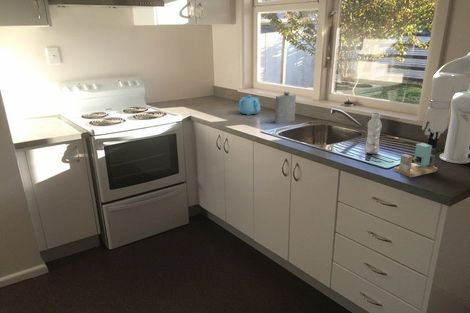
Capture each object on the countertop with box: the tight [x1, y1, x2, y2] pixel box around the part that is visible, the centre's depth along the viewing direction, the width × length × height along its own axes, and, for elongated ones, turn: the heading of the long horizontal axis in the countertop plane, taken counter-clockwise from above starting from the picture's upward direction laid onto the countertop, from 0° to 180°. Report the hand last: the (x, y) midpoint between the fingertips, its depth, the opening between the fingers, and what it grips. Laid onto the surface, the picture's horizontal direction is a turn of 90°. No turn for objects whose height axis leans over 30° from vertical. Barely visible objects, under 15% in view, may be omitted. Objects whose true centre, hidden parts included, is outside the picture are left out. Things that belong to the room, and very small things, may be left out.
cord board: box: [392, 153, 438, 178], centre depth 157 cm, size 16×9×8 cm, turn 116°
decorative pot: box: [237, 94, 261, 116], centre depth 267 cm, size 16×16×14 cm
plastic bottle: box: [364, 112, 383, 155], centre depth 178 cm, size 6×7×20 cm
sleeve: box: [413, 142, 433, 166], centre depth 157 cm, size 4×5×9 cm
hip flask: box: [274, 91, 297, 124], centre depth 241 cm, size 16×4×20 cm, turn 123°
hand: (431, 146), depth 158 cm, fingers closed
